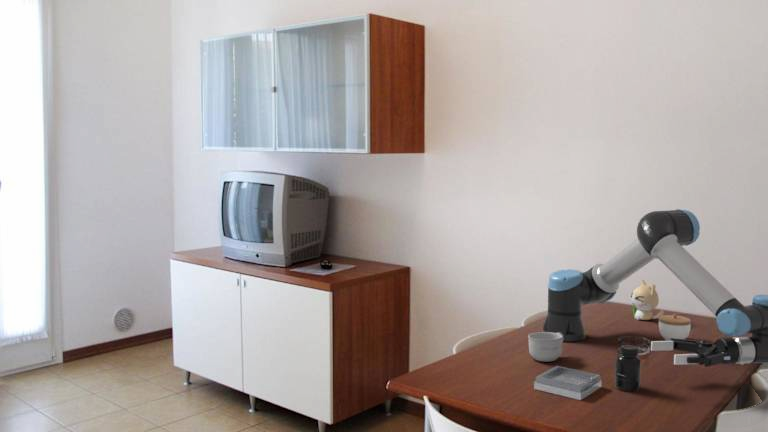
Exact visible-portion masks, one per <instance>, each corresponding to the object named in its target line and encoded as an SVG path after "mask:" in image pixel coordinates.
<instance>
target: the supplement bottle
mask: <svg viewBox="0 0 768 432" xmlns="http://www.w3.org/2000/svg"><path fill="white" fill-rule="evenodd" d="M619 353H620V354H618V355H617V356H616V358H615V371H614V372H615V373H614V386H615V388H616V389H618V390H620V391H623V392H629V393H630V392H632V393H633V392H636V391H639V390H640V386H641V374H642V373H641V372H642V371H641V370H642V359H641V358H640V357H639V356H638V355H639V347H638V346H635V345H633V344H632V345H631V344H622V345H621V346H620V351H619Z"/></svg>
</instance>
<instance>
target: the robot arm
mask: <svg viewBox="0 0 768 432" xmlns="http://www.w3.org/2000/svg"><path fill="white" fill-rule="evenodd" d="M700 227H701V226H700V222H699V220H698V218H697V215H695V214H694V213H693V212H691V211H690V210H687V209H682V208H681V209H680V208H677V209H672V210H655V211H650V212H647V213H646V214H645V215H643V216H642V217H641V218H640V219H639V222H638V224H637V227H636V235H637V239H636V240H634V241H633V242H631V243H630V244H629V245H628V246H626V247H624V249H622V250H621V251H619V252H618V253H617V254H615V255H614V256H613V257H611V258H610V259H609V260H607V261H606V262H604V263H596V264H595V265H593V266H592V267H590V269H588V270H586V271H584V272H582V271H580V270H577V269H572V268H571V269H561V270H557V271H553V272H552V273H550V275H549V277H548V284H547V288H548V289H547V315H546V318H545V320H544V323H543V326H542V328H541V329H542V330H541V332H552V333H562V334H563V337H564V339H563V342H579V341H583V340H585V339H586V329H585V326H584V322H583V319H582V306H587V305H592V304H602V303H606V302H607V301H610V300H611V299H613V298H614V297H615V296H616V294H617V291H618V289H619V288H620V284H621V283H622V282H623V281H625V280H626V279H628V278H630V277H631V276H632V275H633V274H635V273H637V272H638V271H639V270H641V269H643V268H644V267H645V266H646V265H648V264H649V263H651V262H652V261H654V260H655V259H656V260H657V259H658V260H659V261H660V262H661V263H662V264H663V265H664V266H665V268H667V269H668V270H669V271H670V272H671V273H672V274H673V275H674V276H675V277H676V278H677V279H678V280H679V281H680V282H681V283H682V284H683V285H684V286H685V287H686V288H687V289H688V291H690V292H691V293H692V294H693V295H694V296H695V297H696V298H697V299H698V300H699V301H700V302H701V303H702V304H703V305H704V306H705V307H706V308H707V309H708V310H709V311H710V312H711V313H712V315H714V316H715V317H716V324H717V325H716V326H717V327H718V330H719V331H720V332H721V333H722V334H724V335H726V336H728V337H718V338H717V339H716V340H715V342H714V343H712V342H709V341H708V342H707V340H695V339H674V338H671V339H670V341H666V340H654V341H653V340H651V341H650V351H652V352H653V351H654V352H658V351H659V352H660V351H671V352H674V350H675V351H676V350H678V351H685V352H691V353H682V354H681V353H679V354H676V353H675V354H674V355H673V365H674V366H675V365H677V366H678V365H679V366H680V365H683V366H684V365H700V366H703V365H704V367H705V368H706V367H707V368H709V367H713V366H715V365H716V366H717V365H720V364H722V365H735V364H739V365H741V366H744V365H745V364H768V294H756V295H754V296H753V298H752V301H751V304H749V305H744V304H743V303H741V301H739V300H738V299H737V298H736V297H735V296H734V295H733V294H732V293H731V292H730V291H729V290H728V289H727V288H726V287H725V286H724V285H723V284H721V283H720V281H719V280H717V279H716V277H714V275H713V274H711V273H710V272H709V270H707V269H706V268H705V267H704V266H703V265H702V264H701V263H700V262H699V261H698V260H697V259H696V258H695V257H694V256H693V255H691V253H690V252H689V251H688V250H686V249H685V248H684V246H689V245H692V244H695V242H697V240H698V238H699V236H700V231H701V228H700ZM747 334H751V335H750V336H745V335H747Z"/></svg>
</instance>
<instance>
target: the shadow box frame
mask: <svg viewBox="0 0 768 432" xmlns="http://www.w3.org/2000/svg"><path fill="white" fill-rule="evenodd" d="M602 382H603V381H602V379H601V374H597V373H592V372H588V371H584V370H579V369H574V368H570V367H565V366H561V365H555V366H553V367H552V368H550V369H548V370H545V371H544V372H542V373H540V374H538V375H536V376H535V381H534V382H533V389H534V390H537V391H542V392H546V393H550V394H554V395H557V396H560V397H561V396H562V397H564V398H565V397H566V398H569V399H573V400H578V401H582V400H583V399H585V398H587V397H588V396H589V395H591V394H593V393H594V392H596V391H597V390H599V389H600V388H602Z"/></svg>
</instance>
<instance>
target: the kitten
mask: <svg viewBox="0 0 768 432" xmlns="http://www.w3.org/2000/svg"><path fill="white" fill-rule="evenodd" d="M630 298H631V304H632V305H633V309H632V310H633V316H634V319H635V320H637V321H639V320H642V321H649V320H655V319H659V317H660V316H663V315H665V312H664V310H662V309H660V310H659V311H658V313H657V314H655V315H654V314H653V311H652V310H654V309H656V308H657V307H658V305H659V302H660V301H659V294H658V292H657V291H656V284H654V283H653V284H651V285H647V284H646V282H645V280H644V279H641V281H640V285H639V286H637V287H636V288H634V290H633V292H632V293H631V295H630Z"/></svg>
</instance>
